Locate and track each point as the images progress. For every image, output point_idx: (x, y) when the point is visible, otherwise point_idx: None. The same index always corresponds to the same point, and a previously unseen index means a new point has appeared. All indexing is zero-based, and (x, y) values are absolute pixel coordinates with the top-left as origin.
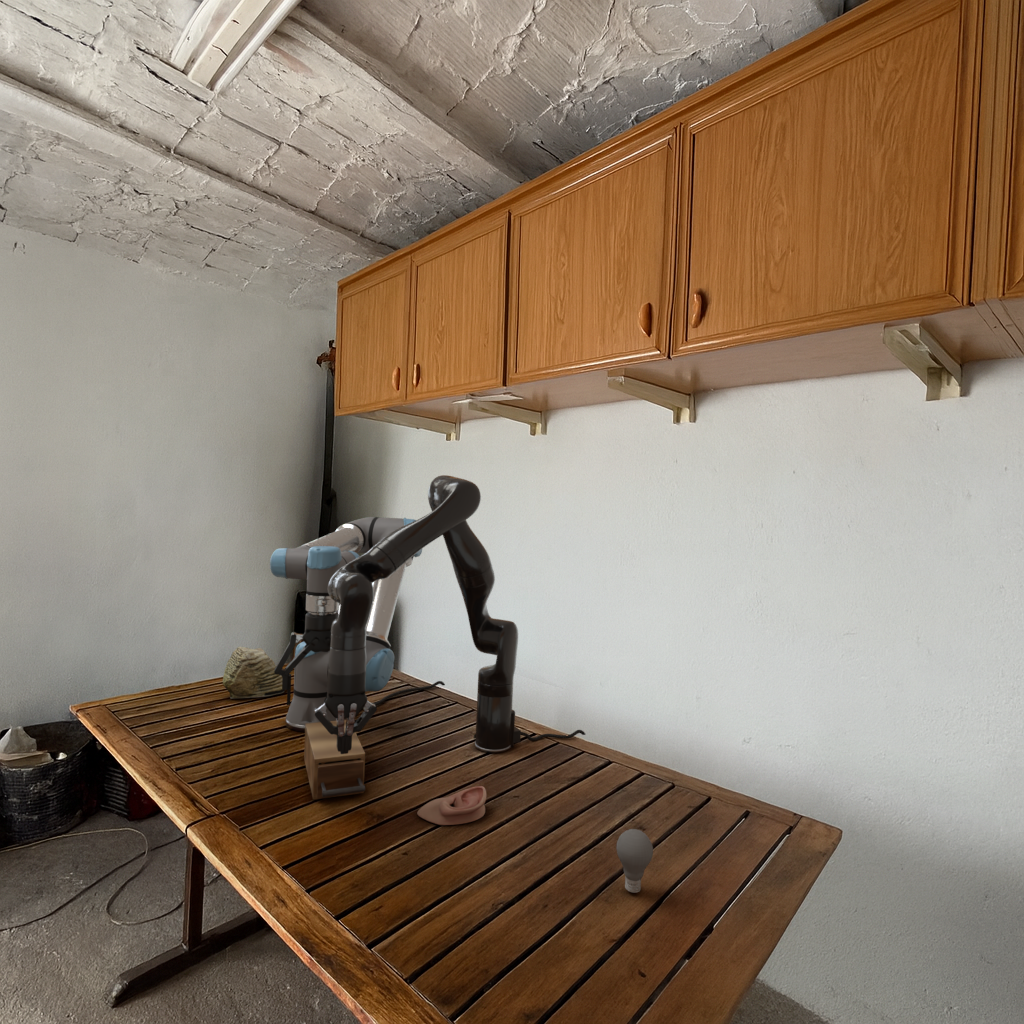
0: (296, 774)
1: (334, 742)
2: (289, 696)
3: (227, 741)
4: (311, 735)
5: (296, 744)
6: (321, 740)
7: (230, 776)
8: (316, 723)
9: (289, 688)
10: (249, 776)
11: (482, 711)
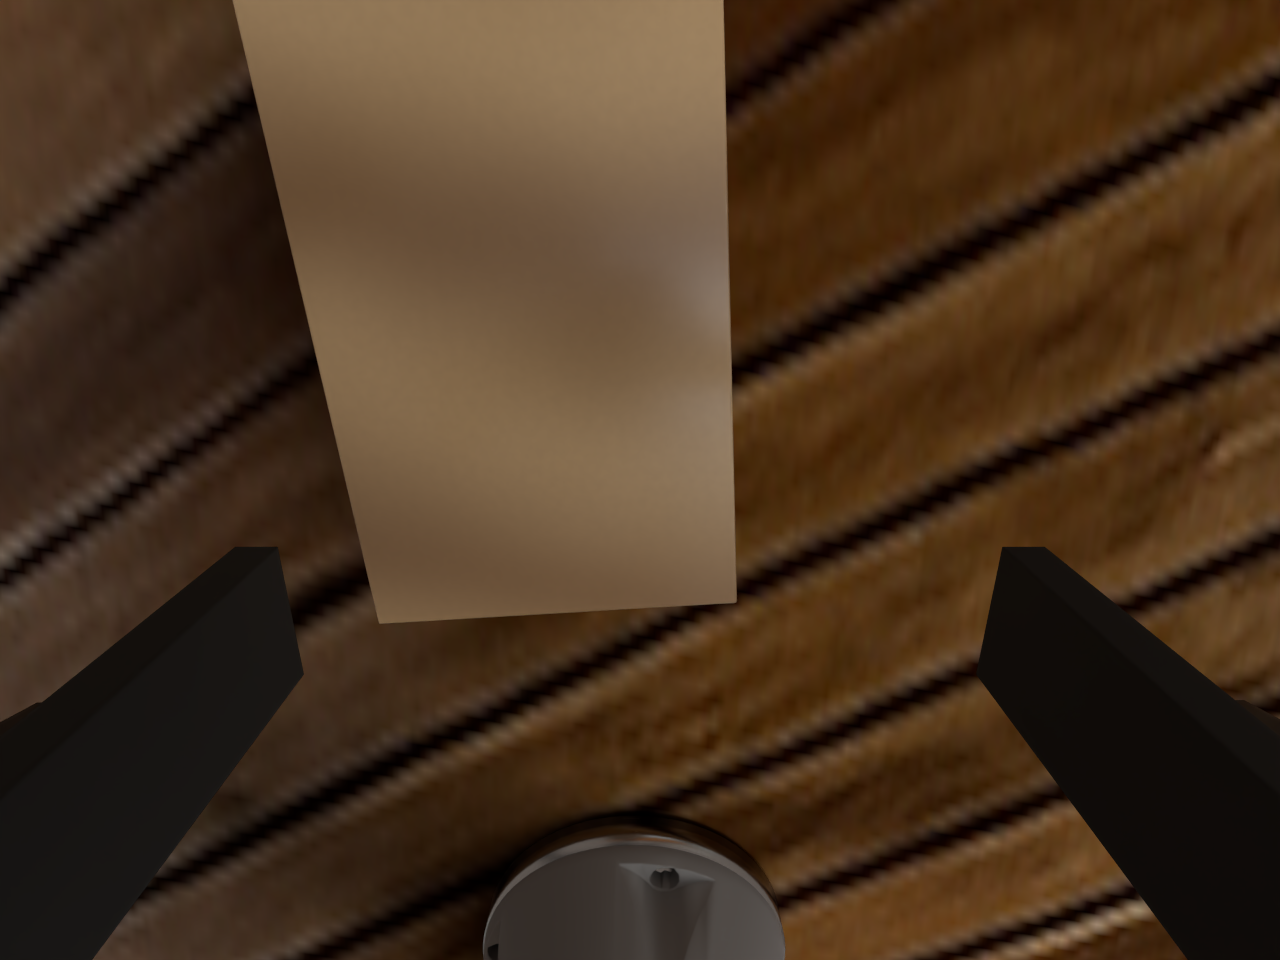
0: (765, 279)
1: (494, 73)
2: (1083, 606)
3: None
4: (704, 316)
5: (738, 689)
6: (619, 162)
7: (1134, 341)
8: (648, 587)
9: (1180, 682)
10: (1033, 316)
11: None
